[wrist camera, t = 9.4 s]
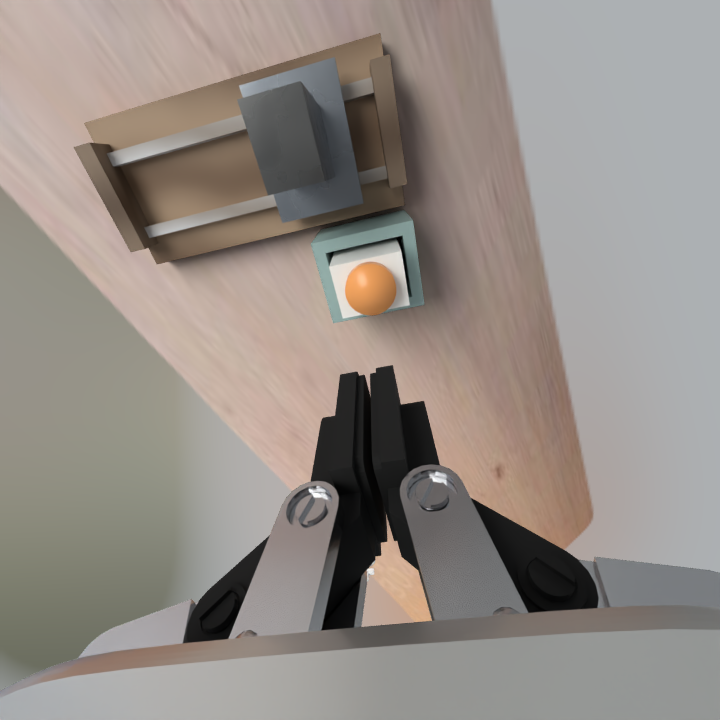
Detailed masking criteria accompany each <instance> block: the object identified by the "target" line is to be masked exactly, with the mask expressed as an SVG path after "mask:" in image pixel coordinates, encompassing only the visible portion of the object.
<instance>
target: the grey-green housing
mask: <svg viewBox="0 0 720 720" xmlns="http://www.w3.org/2000/svg"><path fill="white" fill-rule="evenodd" d="M394 237H398V239H399V245H400V249H401V252H402V259H403V265H404V271H405V278H406V284H407V290H408V297H409V303H410V305H408V306H403V307H398V308H393V309H388V310H386V311H385V312H383V313H386V312H391V311H396V310H401V309H406V308H411V307H416V306H421V305H424V298H423V291H422V283H421V276H420V268H419V261H418V254H417V246H416V239H415V231H414V224H413V220H412V218H411V217H410V216H409V215H408V214H407V213H406V212H405V210H401V211H397V212H393V213H388V214H384V215H380V216H376V217H372V218H367V219H363V220H359V221H355V222H351V223H346V224H342V225H338V226H334V227H330V228H325V229H321V230H320V232H319V233H318V234H317V236H316V237H315V239H314V240H313V242H312V243H311V246H312V250H313V253H314V257H315V260H316V264H317V267H318V271H319V274H320V278H321V281H322V285H323V288H324V292H325V295H326V299H327V302H328V306H329V309H330V313H331V317H332V320H333V323H337V322H342V321H347V320H352V319H356V318H361V317H366V316H371V315H359V316H354V317H349V318H344V319H343V317H342V314H341V310H340V306H339V302H338V299H337V295H336V291H335V287H334V284H333V280H332V276H331V272H330V269H329V266H330V263H331V260H332V257H333V255H334V252H335V251H337V250H341V249H346V248H350V247H354V246H359V245H363V244H368V243H372V242H376V241H381V240H385V239H389V238H394Z"/></svg>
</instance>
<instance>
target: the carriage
mask: <svg viewBox="0 0 720 720" xmlns="http://www.w3.org/2000/svg"><path fill="white" fill-rule="evenodd" d="M239 87H240V90H241V94H242V97H243V98H241V99H237V101H238V104H239V107H240V110H241V114H242V117H243V120H244V123H245V126H246V129H247V132H248V135H249V138H250V141H251V145H252V148H253V151H254V154H255V157H256V160H257V163H258V166H259V169H260V172H261V176H262V179H263V182H264V185H265V188H266V191H267V194H268V196H269V195H274V198H275V201H276V205H277V208H278V211H279V214H280V217H281V220H282V223H285V222H290V221H294V220H298V219H302V218H306V217H310V216H314V215H318V214H322V213H327V212H331V211H335V210H339V209H343V208H347V207H351V206H355V205H359V204H364V201H363V196H362V191H361V186H360V181H359V176H358V171H357V165H356V160H355V155H354V150H353V145H352V140H351V135H350V130H349V125H348V120H347V115H346V110H345V105H344V100H343V95H342V90H341V85H340V80H339V74H338V69H337V64H336V60H335V57H333V58H330V59H326V60H323V61H320V62H316V63H313V64H310V65H306V66H303V67H300V68H296V69H293V70H290V71H286V72H283V73H280V74H276V75H273V76H270V77H266V78H263V79H260V80H256V81H253V82H250V83H246V84H243V85H240V86H239Z"/></svg>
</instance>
